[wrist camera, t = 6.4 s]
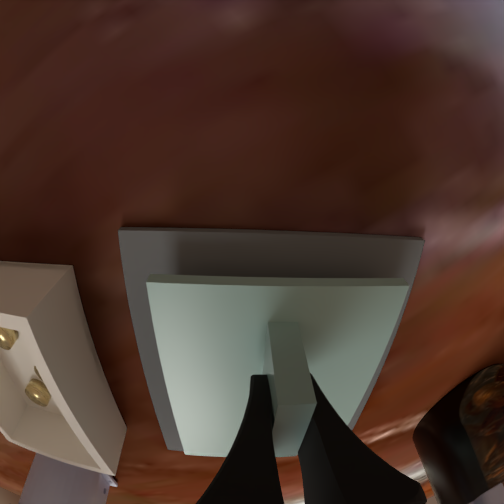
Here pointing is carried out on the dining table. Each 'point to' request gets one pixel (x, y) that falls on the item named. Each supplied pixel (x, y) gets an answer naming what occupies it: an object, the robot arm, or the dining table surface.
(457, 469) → the jar
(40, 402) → the set of gold balls
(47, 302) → the tub
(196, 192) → the dining table surface
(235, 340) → the lid
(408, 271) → the mat
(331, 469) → the robot arm
